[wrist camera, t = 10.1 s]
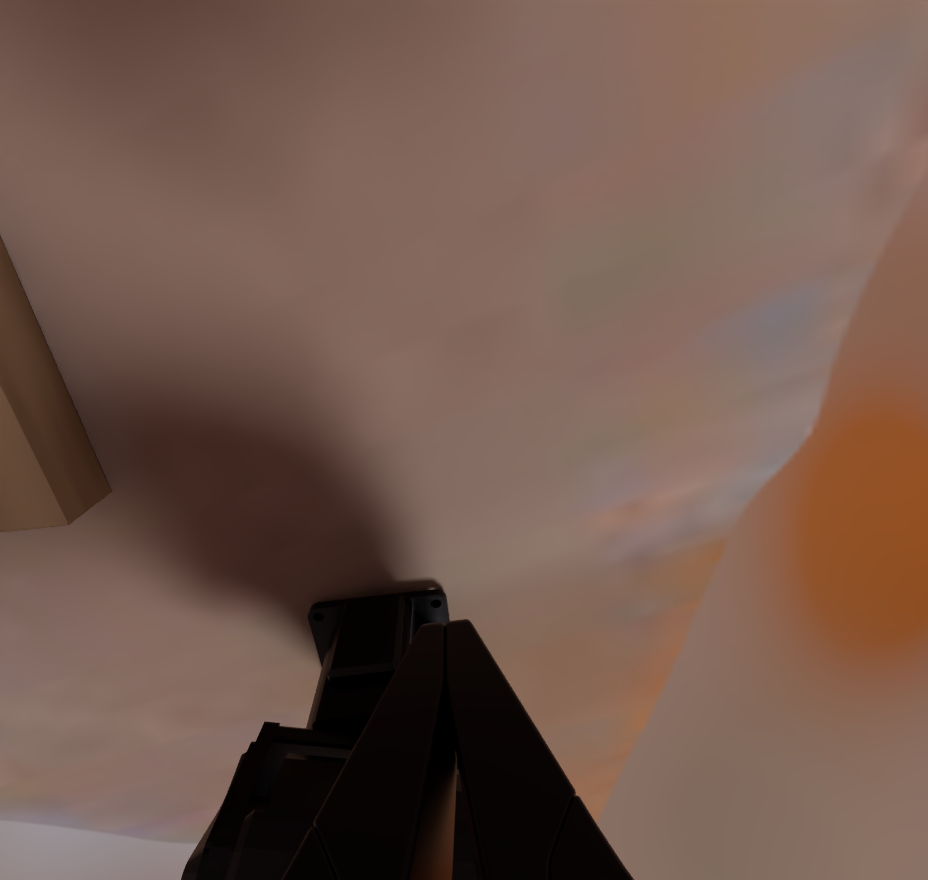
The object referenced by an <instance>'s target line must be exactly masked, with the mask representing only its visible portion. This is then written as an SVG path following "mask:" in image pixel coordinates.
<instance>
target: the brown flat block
mask: <svg viewBox="0 0 928 880" xmlns="http://www.w3.org/2000/svg"><path fill="white" fill-rule="evenodd" d="M110 492H111V490H110V487H109V485H108V483H107V481H106V478H105V476H104V474H103V471H102V469H101V467H100V464H99V462H98V460H97V458H96V455H95V453H94V451H93V448H92V446H91V444H90V442H89V439H88V437H87V435H86V432H85V430H84V428H83V425H82V423H81V421H80V419H79V416H78V414H77V412H76V409H75V407H74V405H73V402H72V400H71V398H70V396H69V393H68V391H67V389H66V386H65V384H64V382H63V380H62V377H61V375H60V373H59V370H58V368H57V366H56V363H55V361H54V359H53V357H52V354H51V352H50V350H49V347H48V345H47V343H46V340H45V338H44V336H43V334H42V331H41V329H40V327H39V324H38V322H37V320H36V318H35V315H34V313H33V311H32V308H31V306H30V304H29V301H28V299H27V297H26V295H25V292H24V290H23V288H22V285H21V283H20V281H19V278H18V276H17V274H16V272H15V269H14V267H13V265H12V262H11V260H10V258H9V255H8V253H7V251H6V249H5V246H4V244H3V242H2V239H1V237H0V532H7V531H16V530H25V529H34V528H44V527H53V526H62V525H69V524H70V523H72V522H73V521H74V520H76V519H77V518H78V517H79V516H81V515H82V514H83V513H85V512H86V511H87V510H88V509H90V508H91V507H92V506H94V505H95V504H96V503H98V502H99V501H100V500H101V499H103V498H104V497H105V496H107V495H108V494H109V493H110Z"/></svg>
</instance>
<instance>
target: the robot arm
mask: <svg viewBox="0 0 928 880" xmlns="http://www.w3.org/2000/svg"><path fill="white" fill-rule="evenodd" d="M435 599H437V600H440V601H438V602H433V600H435ZM317 613H322V614H323V615H318V614H317ZM308 620H309V623H310V627H311V630H312V634H313V637H314V641H315V644H316V648H317V651H318V655H319V658H320V662H321V665H322V670H321V674H320V678H319V681H318V685H317V689H316V693H315V696H314V700H313V704H312V708H311V712H310V715H309V719H308V723H307V727H306V729H305V728H295V727H285V726H280V723H274V722H264V724H263V727H262V729H261V731H260V733H259V735H258V738H257V740H256V742H251V744H250V746H249V748H248V750H247V752H246V753H244V754H242V756H241V758H240V761H239V764H238V766H237V769H236V772H235V774H234V777H233V779H232V782H231V785H230V787H229V790H228V792H227V795H226V797H225V799H224V801H223V803H222V805H221V807H220V809H219V811H218V812H217V814H216V816H215V817H214V819H213V821H212V822H211V824H210V825H209V827H208V829H207V830H206V832H205V834H204V835H203V837H202V839H201V840H200V842H199V843H198V845H197V847H196V849H195V850H194V852H193V853H192V855H191V857H190V858H189V860H188V862H187V864H186V866H185V869H184V872H183V875H182V878H181V880H634V879H633V877H632V876H631V875H630V873H629V872H628V871H627V869H626V868H625V866H624V865H623V864H622V862H621V861H620V859H619V857H618V856H617V854H616V853H615V851H614V850H613V848H612V847H611V845H610V844H609V843H608V841H607V839H606V838H605V836H604V835H603V833H602V832H601V830H600V829H599V827H598V826H597V824H596V823H595V821H594V819H593V818H592V816H591V814H590V813H589V811H588V810H587V808H586V806H585V805H584V803H583V802H582V800H581V798H580V797H579V796H576V792H575V789H574V788H573V786H572V784H571V783H570V781H569V779H568V778H567V776H566V775H565V773H564V771H563V770H562V768H561V767H560V765H559V763H558V762H557V760H556V758H555V757H554V755H553V754H552V752H551V750H550V749H549V747H548V746H547V744H546V742H545V741H544V739H543V737H542V736H541V734H540V733H539V731H538V729H537V728H536V726H535V725H534V723H533V721H532V720H531V718H530V716H529V715H528V713H527V712H526V710H525V708H524V707H523V705H522V704H521V702H520V700H519V699H518V697H517V695H516V694H515V692H514V691H513V689H512V687H511V686H510V684H509V683H508V681H507V679H506V678H505V676H504V674H503V673H502V671H501V670H500V668H499V666H498V665H497V663H496V662H495V660H494V658H493V657H492V655H491V653H490V652H489V650H488V649H487V647H486V645H485V644H484V642H483V641H482V639H481V637H480V636H479V634H478V632H477V631H476V629H475V628H474V626H473V624H472V623H471V622H470V621H469V620H467V619H464V620H455V621H450V619H449V612H448V604H447V597H446V594H445V593H444V592H443V591H441V590H426V591H417V592H408V593H399V594H390V595H381V596H372V597H364V598H355V599H346V600H337V601H328V602H319V603H315V604H313V605H312V606H311V608H310V610H309V613H308Z"/></svg>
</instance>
